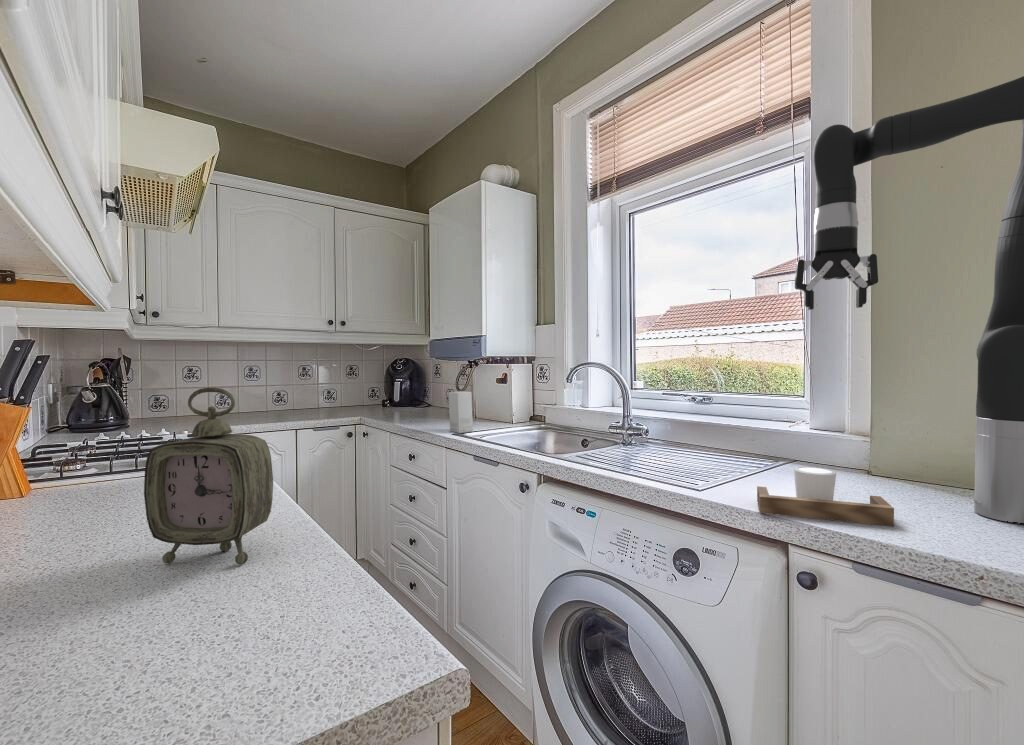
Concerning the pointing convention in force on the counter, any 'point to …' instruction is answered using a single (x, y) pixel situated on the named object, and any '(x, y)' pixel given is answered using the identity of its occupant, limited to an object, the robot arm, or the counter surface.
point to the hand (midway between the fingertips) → (834, 308)
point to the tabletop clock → (208, 485)
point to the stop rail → (827, 508)
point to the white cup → (814, 483)
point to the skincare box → (460, 411)
